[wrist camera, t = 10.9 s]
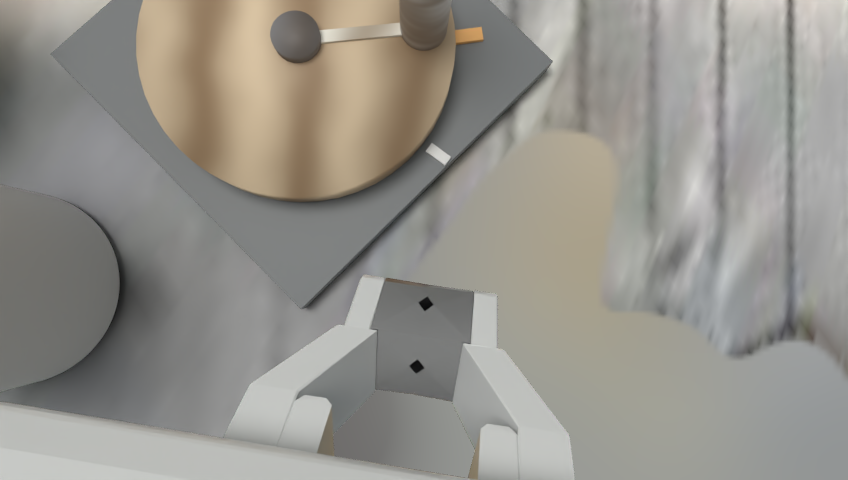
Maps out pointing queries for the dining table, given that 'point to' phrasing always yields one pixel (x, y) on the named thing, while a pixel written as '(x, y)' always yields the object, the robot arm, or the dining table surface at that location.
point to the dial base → (329, 219)
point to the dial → (297, 87)
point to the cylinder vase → (50, 286)
